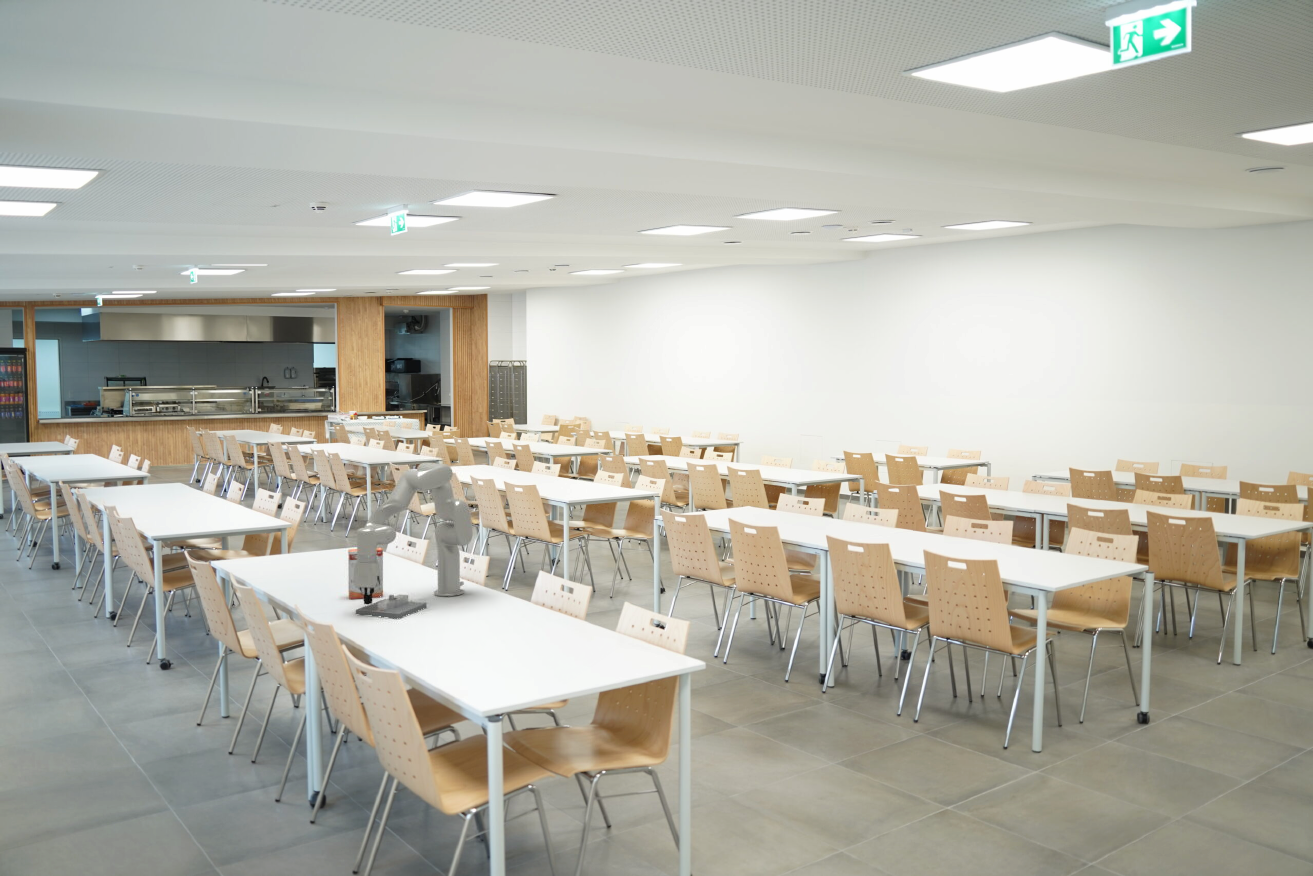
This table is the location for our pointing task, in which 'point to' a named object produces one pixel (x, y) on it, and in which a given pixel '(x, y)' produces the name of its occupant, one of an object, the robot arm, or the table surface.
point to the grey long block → (393, 602)
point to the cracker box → (353, 591)
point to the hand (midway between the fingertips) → (368, 603)
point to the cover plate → (392, 613)
